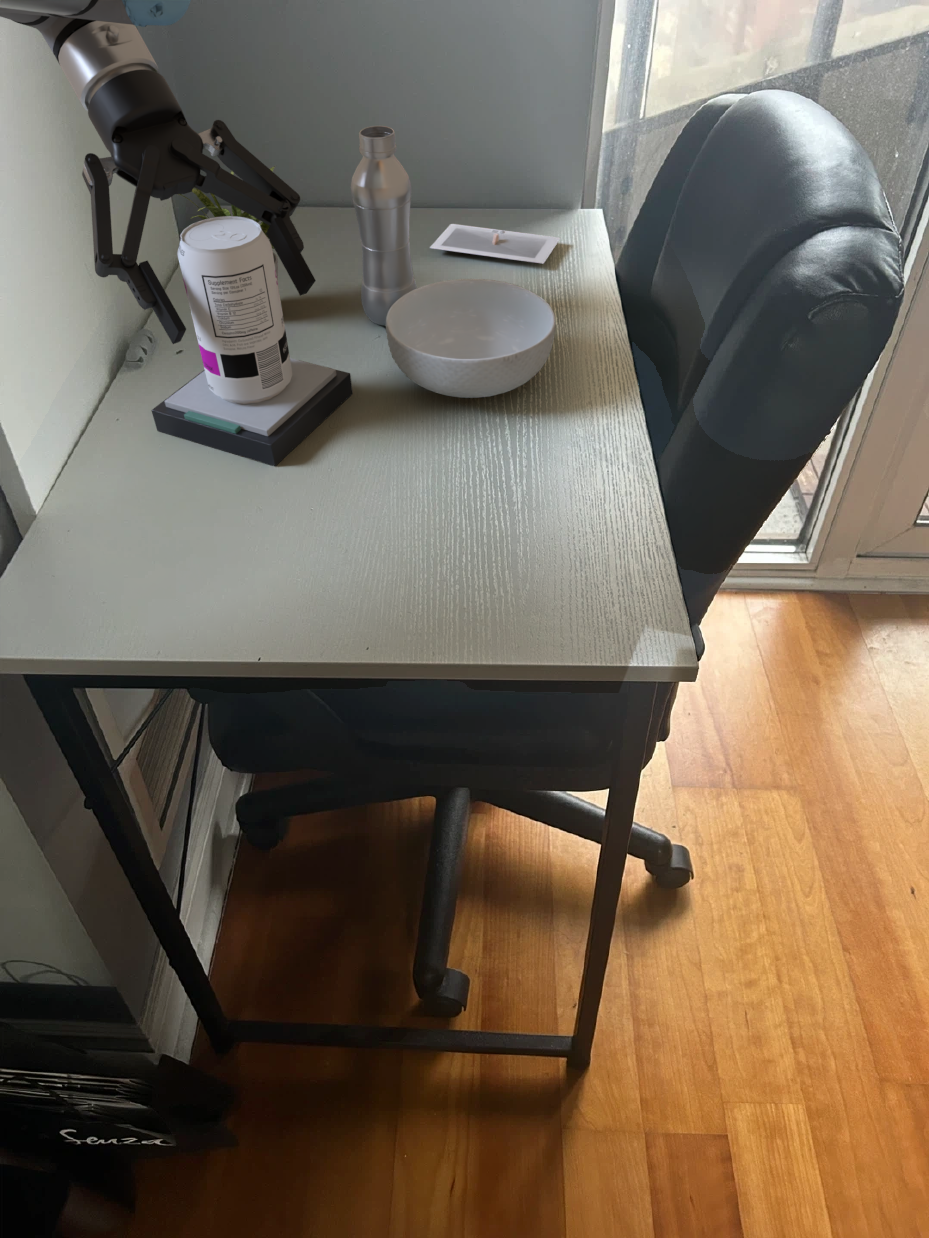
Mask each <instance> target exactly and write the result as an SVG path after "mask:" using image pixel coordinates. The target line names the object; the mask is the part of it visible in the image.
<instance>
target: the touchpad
mask: <svg viewBox="0 0 929 1238" xmlns="http://www.w3.org/2000/svg"><path fill="white" fill-rule="evenodd" d="M561 238H562V237H558V236H552V235H551V236H550V235H544V234H543V235H542V234H536V233H535V234H534V233H528V232H527V233H526V232H518V231H511V230H504V229H497V228H488V227H481V226H480V227H479V226H472V225H466V224H458V223H450V224H449V225H448V226H447V227H446V229H445V230H444V231H443V232H442V233H441V234H440V235H439V237H438V238H436V239H435V241H433V243H432V244H431V245H430V246H429V249H433V250H441V251H448V252H455V253H463V254H470V255H477V256H484V257H491V258H497V259H505V260H514V261H521V262H528V263H536V264H543V265H544V264H545V262H546V261H547V260H548V258H549V257H550V255H551V254H552V252H553V251H554V249H555V248H556V246H557V245H558V244H559V242H560V240H561Z"/></svg>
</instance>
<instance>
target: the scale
mask: <svg viewBox="0 0 929 1238" xmlns="http://www.w3.org/2000/svg"><path fill="white" fill-rule="evenodd" d="M290 361H291V367H292V373H293V375H292V378H291V381H290V383H289V384H288V385H287V386H286V388H285V389H284V390H283V391H282V392H281V393H280V394H278V395H276V396H274V397H273V398H271V399H268V400H265V401H261V402H258V403H247V404H242V403H232V402H229V401H227V400H224V399H222V398H221V397H220V396H217V395H215V394H214V393H213V392H212V391H211V390H210V389H209V386H208V382H207V378H206V373H205V369H203V370H202V371H201V372H199V373H198V374H197V375H195V376H194V377H193V378H191V379H190V380H189V381H188V382H186V383H185V384H183V386H181V387H180V388H178V389H177V390H175V391H174V392H173V393H172V394H171V395H169V396H168V397H166V398H165V399H164V400H163V401H161V402H160V403H159V404H157V405H156V406H155V407H154V408H152V409H151V414H152V418H153V420H154V424H155V427H156V431H157V432H159V433H163V434H166V435H170V436H172V437H176V438H179V439H183V440H187V441H189V442H193V443H196V444H199V445H203V446H205V447H209V448H213V449H216V450H219V451H222V452H226V453H229V454H232V455H236V456H240V457H242V458H246V459H249V460H253V461H255V462H258V463H259V462H260V463H263V464H266V465H269V466H273V467H276V466H277V465H279V464H280V463H281V462H282V461H283V460H284V459H285V458H286V457H288V455H289V454H290V453H291V452H293V450H294V449H295V448H297V447H298V446H299V445H300V444H301V443H302V442H303V441H304V440H305V439H306V438H307V437H309V436H310V434H312V432H314V431H315V430H316V429H317V428H318V427H319V426H320V425H321V424H322V423H323V422H324V421H325V420H326V419H327V418H328V417H329V416H331V415H332V414H333V413H334V412H335V411H336V410H337V409H338V408H340V406H342V404H343V403H345V402H346V400H348V399H349V398H350V397H352V395H353V394H354V393H353V385H352V375H351V372H349V371H348V372H347V371H344V370H340V369H335V368H332V367H328V366H323V365H319V364H315V363H312V362H307V361H304V360H300V359H296V358H293V357H290Z"/></svg>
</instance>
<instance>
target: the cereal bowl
mask: <svg viewBox="0 0 929 1238" xmlns="http://www.w3.org/2000/svg"><path fill="white" fill-rule="evenodd" d="M556 327H557V326H556V315H555V313H554V310H553V308H552V307H551V305H550V304H549V303H548V301H546V300H545V298H543V297H541V296H540V295H539V294H537V293H535V292H534V291H531V290H529V289H528V288H525V287H522V286H519V285H517V284H513V283H509V282H506V281H502V280H494V279H485V278H457V279H447V280H443V281H437V282H433V283H429V284H426V285H422V286H419V287H417V289H415V290H412V291H411V292H409V293H407V294H405V295H404V296H402V297H401V298H399V299H398V300H397V301H396V302H395V303H394V304H393V305H392V306H391V308H390V309H389V311H388V314H387V317H386V326H385V332H386V339H387V346H388V347H389V352H390V353H391V357H392V359H393V360H394V363H395V364H396V366H397V367H398V369H399V370H400V371H401V372H402V373H403V374H404V375H405V377H407V378H408V379H409V380H410V381H412V382H414V384H415V385H418V386H420V387H421V388H423V389H425V390H428V391H431V392H433V393H437V394H439V395H444V396H446V397H454V398H461V399H462V398H465V399H469V398H470V399H473V398H474V399H477V398H479V399H480V398H488V397H493V396H497V395H501V394H505V393H508V392H510V391H513V390H515V389H517V388H519V387H521V386H523V385H525V384H526V383H528V382H529V381H530V380H531V379H533V378H534V377H535V376H536V375H537V374H538V373H539V372H540V371H541V370H542V368H543V367H544V365H545V364H546V362H547V360H548V359H549V356H550V354H551V351H552V347H553V344H554V340H555V334H556Z"/></svg>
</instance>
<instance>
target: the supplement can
mask: <svg viewBox="0 0 929 1238" xmlns="http://www.w3.org/2000/svg"><path fill="white" fill-rule="evenodd" d="M179 237H180V241H179V244H178V248H177V251H176V255H177V260H178V264H179V268H180V272H181V276H182V280H183V284H184V288H185V289H184V290H185V293H186V297H187V301H188V306H189V310H190V314H191V318H192V323H193V326H194V331H195V335H196V339H197V344H198V348H199V352H200V356H201V361H202V365H203V368H204V369H203V370H205V373H206V378H207V382H208V386H209V389H210V390H211V391H212V392H213V393H214V394H215V395H217V396H220V397H221V398H222V399H224V400H227V401H229V402H232V403H242V404H247V403H258V402H261V401H265V400H268V399H271V398H273V397H274V396H276V395H278V394H280V393H281V392H282V391H283V390H284V389H285V388H286V386H287V385H288V384H289V383H290V381H291V378H292V375H293V373H292V367H291V361H290V358H291V355H290V350H289V343H288V337H287V331H286V326H285V320H284V313H283V306H282V301H281V295H280V288H279V281H278V282H277V276H276V270H275V264H274V258H273V253H274V252H273V249H272V246H271V244H270V241H269V239H268V238H267V236H266V235H265V234H264V232H263V231H262V229H261V227H260V223H259V222H258V223H257V222H255V221H254V220H251V219H248V218H244V217H234V216H233V215H231V216H225V217H214V216H213V217H209V218H208V219H205V220H203V219H202V220H199V221H196V222H194V223H191V224H190V225H188V226H186V227H185V228H183V230H182V232H181V233H180V234H179Z"/></svg>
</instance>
